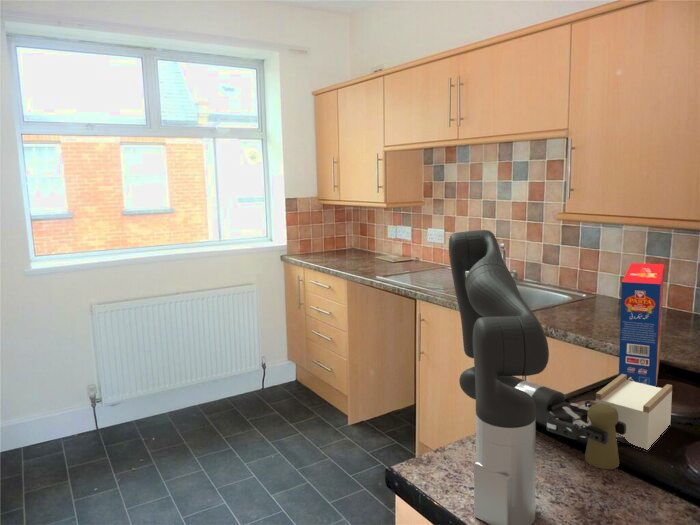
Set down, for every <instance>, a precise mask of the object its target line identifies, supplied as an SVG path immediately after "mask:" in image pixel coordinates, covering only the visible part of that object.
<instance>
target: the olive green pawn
mask: <svg viewBox="0 0 700 525" xmlns="http://www.w3.org/2000/svg"><path fill="white" fill-rule="evenodd" d="M587 418H588V421H591V424H590V425H591V426H593V427H595V428H598V429H600V430H603V431H605V432H607V433H608V435H609V436H608V443H606V444H602V443H600V442H597V441H595V440H593V439H590V438H588V437H587V441H586V447H585V453H584V460H585V462H586V463H587V464H589V466H593V467H595V468H597V469H603V470H613V469H614V470H615V469H616V468H619V466H620V465H619V464H620V458H619V455H620V454H619V448H618V442H617V439H616V430H615V425H616V424H617V423H618V419H619V416H618V412H617V410H616V409H615V408H614V407H612V406H610V405H607V404H596V403H595V404H594V405H592V406H591V407H590V408H589V410H588V417H587Z"/></svg>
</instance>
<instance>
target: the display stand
mask: <svg viewBox="0 0 700 525" xmlns="http://www.w3.org/2000/svg"><path fill="white" fill-rule="evenodd" d="M672 395H673V385H672V384H668V383H667V384H665V385H664V386H663V387H659V386H657V387H655V386H650V385H646V384H642V383H638V382H633V381H629V380H627V375H625V374H621V375H620V376H619V375H617V377H616V378H614V379H613V380H612V381H610V382H609V383H608V384H606V385H605V386H604V387H602V388H601V389H600V390H598V391H597V392H595V404H607V405H610V406H612V407H614V408H615V409H616V410H617V412H618V416H619V419H618V421H620V422H623V423H625V424H626V433H625V434H623V435H621V434H619V435H621V436H623V437H625V439H626V440H627V441H628V442H629V443H631V444H633V445H635V446H638V447H641V448H644V449H646V450H648V449H649V448H650V447H651V445H652V444H653V443H654V442H655V441H656V440H657V439H658V438H659V437H660V435H661V434H662V433H663V432H664V431H665V430H666V429H667V428H668V426H669V425H670V426H671V421H672V420H671V419H672V418H671V416H672V399H673V398H672V397H673V396H672ZM668 429H669V428H668ZM668 429H667V430H668ZM667 430H666V431H667ZM666 431H665V432H666ZM665 432H664V433H665ZM664 433H663V434H664ZM617 434H618V433H617ZM663 434H662V435H663ZM660 438H661V437H660ZM660 438H659V439H660ZM659 439H658V440H659ZM658 440H657V441H658ZM657 441H656V442H657ZM656 442H655V443H656ZM655 443H654V444H655ZM654 444H653V445H654ZM653 445H652V446H653ZM651 448H652V447H651ZM651 448H650V449H651ZM650 449H649V450H650ZM649 450H648V451H649Z"/></svg>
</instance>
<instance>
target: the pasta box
mask: <svg viewBox="0 0 700 525" xmlns="http://www.w3.org/2000/svg"><path fill="white" fill-rule="evenodd" d="M664 274H665V264H662V263H643V262H642V263H640V262H639V263H638V262H631V263H630V265H629V267H628V269H627V271H626V272H625V275H624V277H623V279H622V281H621V293H620V294H621V295H620V296H621V297H620V325H619V355H618V376H620V375H621V374H625V375H627V380H629V381H633V382H638V383H642V384H646V385H650V386H655V387H656V386H657V385H658V378H659V371H660V370H659V369H660V363H661V342H662V340H661V339H662V320H663V319H662V316H663V298H664V296H663V295H664ZM657 387H658V386H657Z"/></svg>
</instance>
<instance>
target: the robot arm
mask: <svg viewBox="0 0 700 525" xmlns="http://www.w3.org/2000/svg"><path fill="white" fill-rule="evenodd" d="M502 256H503V255H502V253H501V250H500V246H499V243H498V241H497V238H496V236H495V234H494V233H493V232H492V231H490V230H488V229H479V230H476V229H475V230H469V231H467V230H466V231H460V232H453V233H451V234H450V236H449V238H448V257H449V262H450V270H451V274H452V279H453V280H452V281H453V285H454V290H455V297H456V299H457V304H458V305H457V306H458V310H459V314H460V315H459V316H460V320H461V321H460V323H461V330H462V331H461V332H462V333H461V334H462V344H463V351H464V354H465V355H466V356H467V357H468V358H470V359H473V363H474V365H473V366H472V367H469V368H467V369H465V370H464V371H462V373H461V374H460V375H459V376H460V377H459V379H458V380H459V382H458V383H459V387H460V389H461V390H462V392H463V393H464V394H465V395H466V396H468V397H469V398H471V399H472V400H475V451H476V452H475V458H476V460H475V461H476V462H474V464H473V501H474V502H473V505H474V506H473V510H474V517H475V518H477V519H478V520H481V521H483V522H485V523H486V524H488V525H532V524H533V523H534V521H535V519H536V455H537V454H536V451H537V450H536V444H537V441H536V438H537V437H536V436H537V435H536V434H537V433H536V432H537V429H536V428H537V424H536V423H539V424H542V425H544V426H546V431H547V432H549V433H553V434H556V435H559V436H562V437H566V438H568V439H572V440H578V439H579V437H580V438H584V439H588V438H590V439H593V440H595V441H597V442H600V443H602V444H606V443H608V436H609V435H608V433H607V432H605V431H603V430H600V429H598V428H595V427H593V426H591V425H590V424H591V421H590V420H588V418H589V417H588V410H589V408H590V407H591V406H592V405H594V404H596V402H593V401H591V400H585V401H584V404H582V405H581V404H579V403H575V402H571V401H569V399H568V396H566V395H565V393H563V392H561V391H557V390H556V389H552V388H550V387H547V386H544V385H542V384H539V383H536V382H532V381H528V380H525V379H522V378H520V377H527V376H529V377H530V376H534V375H538V374H540V373H542V372H543V371H544V370H545V369H546V367H547V366H548V362H549V357H550V351H549V343H548V338H547V336H546V333H545V330H544V328H543V326H542V324H541V323H540V320H539V319H538V318H537V316H536V315H535V314H534V312H533V311H532V310H531V308H530V307H529V306H528V305H527V303H526V302H525V300H524V299H523V297H522V295H521V293H520V291H519V289H518V286H517V284H516V282H515V279H514V277H513V276H512V274H511V272H510V270H509V269H508V267H507V265H506V263H505V260H504V258H503V257H502ZM466 272H467V273H466ZM466 274H467V275H466ZM567 430H568V431H567ZM615 430H616V433H618V434H621V435H623V434H625V433H626V424H625V423H623V422H620V421H618V423H617V424H616V425H615Z"/></svg>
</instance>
